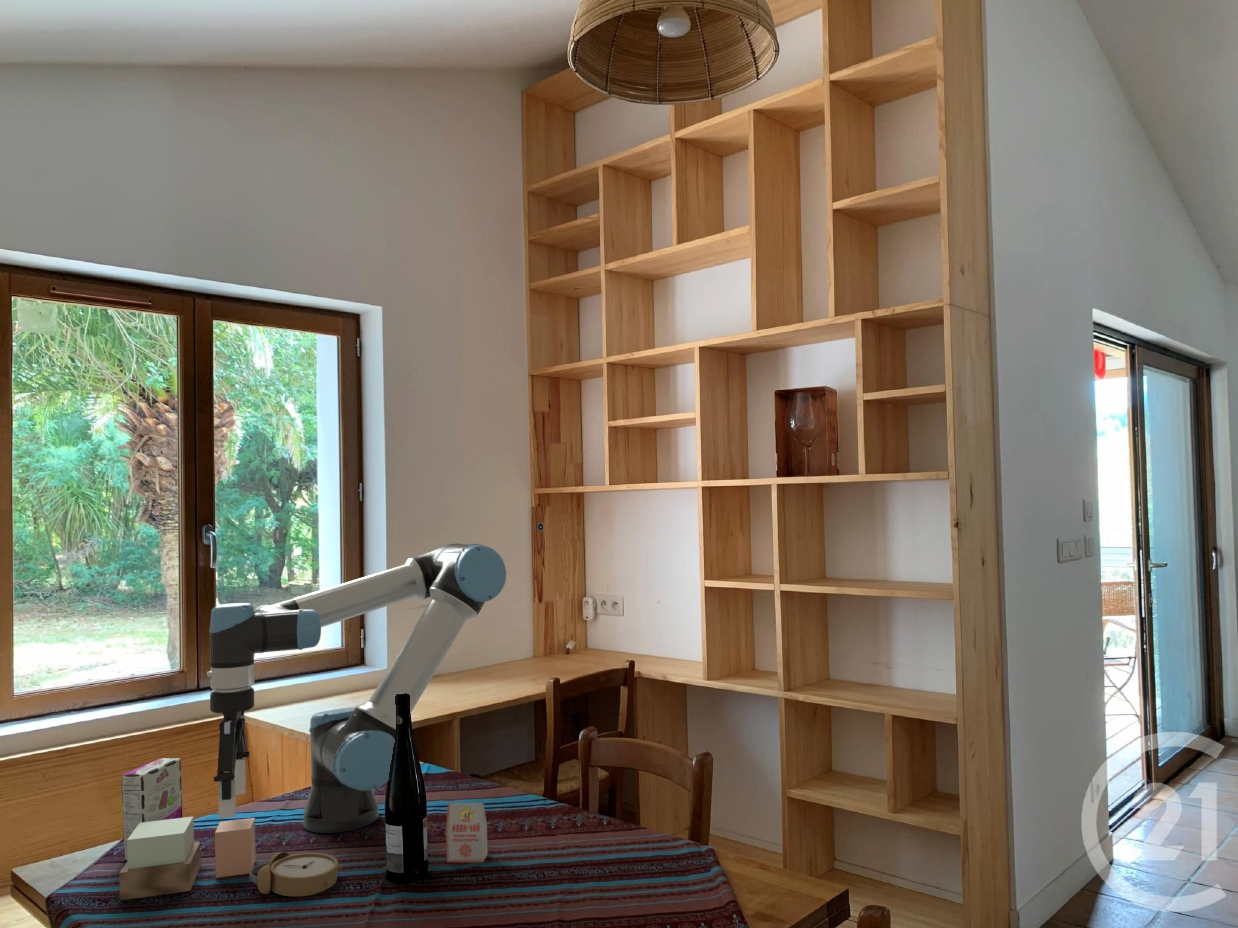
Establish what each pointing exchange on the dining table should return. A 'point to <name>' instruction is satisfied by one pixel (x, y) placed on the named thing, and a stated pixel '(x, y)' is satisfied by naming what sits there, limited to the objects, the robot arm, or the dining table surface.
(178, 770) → the candy bar box
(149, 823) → the tower upper
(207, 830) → the dining table surface
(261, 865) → the alarm clock
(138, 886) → the tower lower
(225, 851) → the block
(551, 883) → the dining table surface
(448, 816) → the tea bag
